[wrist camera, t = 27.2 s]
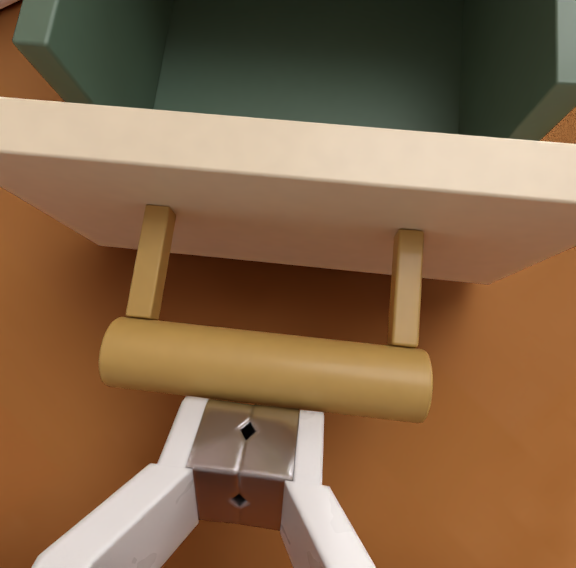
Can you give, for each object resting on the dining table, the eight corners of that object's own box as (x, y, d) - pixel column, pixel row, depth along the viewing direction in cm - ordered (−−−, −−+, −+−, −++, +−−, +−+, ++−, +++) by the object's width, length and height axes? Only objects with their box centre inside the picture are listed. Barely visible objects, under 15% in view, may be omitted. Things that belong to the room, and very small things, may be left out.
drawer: (486, 416, 13) (674, 468, 7) (73, 369, 14) (-137, 371, 7) (496, -70, 17) (625, -359, 10) (166, -89, 18) (81, -370, 11)
